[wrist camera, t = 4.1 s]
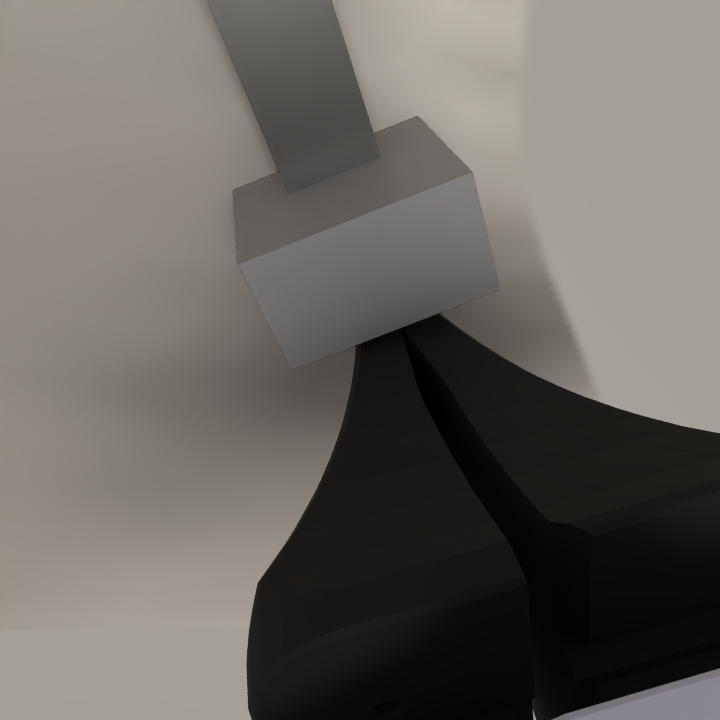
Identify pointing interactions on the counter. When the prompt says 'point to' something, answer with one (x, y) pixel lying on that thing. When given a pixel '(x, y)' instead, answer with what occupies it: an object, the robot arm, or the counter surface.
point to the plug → (343, 193)
